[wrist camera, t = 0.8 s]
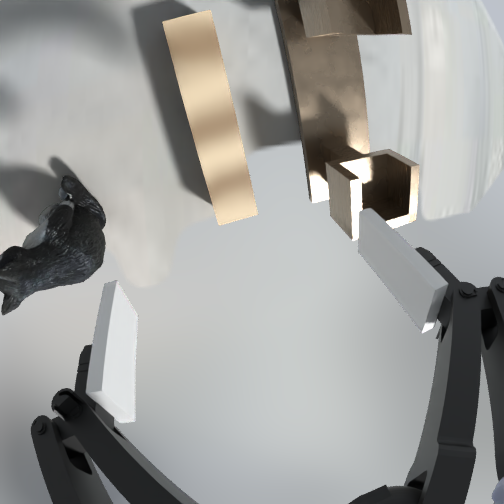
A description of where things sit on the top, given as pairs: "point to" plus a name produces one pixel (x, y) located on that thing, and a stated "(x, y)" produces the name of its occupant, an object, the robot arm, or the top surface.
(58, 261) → the figurine
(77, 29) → the top surface
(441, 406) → the robot arm
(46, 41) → the top surface
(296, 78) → the bracket
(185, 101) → the rail
